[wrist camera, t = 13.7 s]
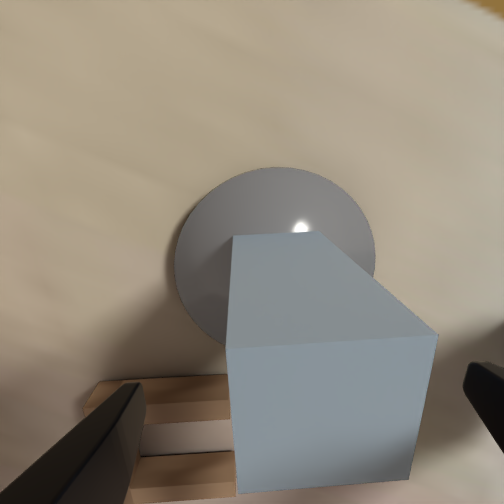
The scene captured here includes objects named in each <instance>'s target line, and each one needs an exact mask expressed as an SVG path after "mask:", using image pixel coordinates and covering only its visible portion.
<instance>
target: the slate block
mask: <svg viewBox="0 0 504 504" xmlns="http://www.w3.org/2000/svg"><path fill="white" fill-rule="evenodd" d="M437 340H438V334H437V333H436V332H435V331H434V330H432V329H431V328H430V327H429V326H428V325H427V324H426V323H424V322H423V321H422V320H421V319H420V318H419V317H418V316H416V315H415V314H414V313H413V312H412V311H411V310H409V309H408V308H407V307H406V306H405V305H404V304H403V303H401V302H400V301H399V300H398V299H397V298H396V297H394V296H393V295H392V294H391V293H390V292H389V291H388V290H386V289H385V288H384V287H383V286H382V285H381V284H380V283H378V282H377V281H376V280H375V279H374V278H373V277H371V276H370V275H369V274H368V273H367V272H366V271H365V270H363V269H362V268H361V267H360V266H359V265H358V264H356V263H355V262H354V261H353V260H352V259H351V258H350V257H348V256H347V255H346V254H345V253H344V252H343V251H342V250H340V249H339V248H338V247H337V246H336V245H335V244H333V243H332V242H331V241H330V240H329V239H328V238H327V237H325V236H324V235H323V234H322V233H321V232H320V231H310V232H292V233H273V234H254V235H235V236H233V246H232V261H231V276H230V291H229V306H228V320H227V335H226V360H227V371H228V382H229V394H230V405H231V416H232V428H233V439H234V450H235V462H236V473H237V484H238V494H243V493H255V492H267V491H279V490H291V489H303V488H315V487H327V486H339V485H351V484H363V483H374V482H386V481H398V480H409V475H410V471H411V466H412V461H413V456H414V451H415V447H416V442H417V437H418V432H419V427H420V422H421V418H422V413H423V408H424V403H425V398H426V393H427V389H428V384H429V379H430V374H431V369H432V364H433V360H434V355H435V350H436V345H437Z"/></svg>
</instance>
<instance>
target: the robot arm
mask: <svg viewBox="0 0 504 504" xmlns="http://www.w3.org/2000/svg"><path fill="white" fill-rule="evenodd" d="M463 390H464V393H465V395H466V397H467V398H468V400H469V401H470V403H471V404H472V406H473V407H474V409H475V410H476V412H477V413H478V415H479V417H480V418H481V420H482V421H483V423H484V424H485V426H486V427H487V429H488V430H489V432H490V434H491V435H492V437H493V438H494V440H495V441H496V443H497V444H498V446H499V447H500V449H501V450H502V452H503V453H504V368H502V367H499V366H497V365H495V364H493V363H490V362H487V361H476V362H471V363H470V364H469V365H468V367H467V371H466V374H465V378H464V382H463ZM145 416H146V401H145V396H144V391H143V386H142V384H141V383H140V382H127V383H124V384H123V385H121V386H120V387H119V388H118V389H117V390H116V391H115V392H113V393H112V394H111V395H110V396H109V397H108V398H107V399H106V400H104V401H103V402H102V403H101V404H100V405H99V406H98V407H97V408H95V409H94V410H93V411H92V412H91V413H90V414H89V415H87V416H86V417H85V418H84V419H83V420H82V421H81V422H80V423H78V424H77V425H76V426H75V427H74V428H73V429H72V430H71V431H69V432H68V433H67V434H66V435H65V436H64V437H63V438H62V439H60V440H59V441H58V442H57V443H56V444H55V445H54V446H52V447H51V448H50V449H49V450H48V451H47V452H46V453H45V454H43V455H42V456H41V457H40V458H39V459H38V460H37V461H36V462H34V463H33V464H32V465H31V466H30V467H29V468H28V469H26V470H25V471H24V472H23V473H22V474H21V475H20V476H19V477H17V478H16V479H15V480H14V481H13V482H12V483H11V484H10V485H8V486H7V487H6V488H5V489H4V490H3V491H2V492H0V504H123V503H124V500H125V497H126V494H127V491H128V488H129V484H130V481H131V477H132V473H133V469H134V464H135V460H136V456H137V451H138V447H139V443H140V438H141V434H142V429H143V425H144V421H145Z"/></svg>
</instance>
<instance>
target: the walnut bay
mask: <svg viewBox="0 0 504 504" xmlns="http://www.w3.org/2000/svg"><path fill="white" fill-rule="evenodd" d="M127 382H140V383H141V384H142V386H143V391H144V396H145V401H146V416H145V421H144V425H146V424H162V423H178V422H193V421H209V420H225V419H230V394H229V382H228V374H223V375H206V376H188V377H171V378H154V379H137V380H119V381H102V382H99V383H98V385H97V386H96V388H95V389H94V391H93V393H92V394H91V396H90V397H89V399H88V401H87V402H86V404H85V405H84V407H83V412H84V416H85V417H86V416H87V415H89V414H90V413H91V412H92V411H93V410H94V409H95V408H97V407H98V406H99V405H100V404H101V403H102V402H103V401H104V400H106V399H107V398H108V397H109V396H110V395H111V394H112V393H113V392H115V391H116V390H117V389H118V388H119V387H120V386H121V385H123V384H124V383H127ZM225 497H236V462H235V451H230V452H215V453H201V454H186V455H171V456H157V457H142V458H141V457H140V453H139V448H138V451H137V456H136V460H135V464H134V469H133V473H132V477H131V481H130V484H129V488H128V491H127V494H126V497H125V500H124V503H123V504H144V503H157V502H171V501H184V500H198V499H211V498H225Z"/></svg>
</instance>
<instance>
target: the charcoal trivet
mask: <svg viewBox="0 0 504 504" xmlns="http://www.w3.org/2000/svg"><path fill="white" fill-rule="evenodd" d="M310 231H320V232H321V233H322V234H323V235H324V236H325V237H327V238H328V239H329V240H330V241H331V242H332V243H333V244H335V245H336V246H337V247H338V248H339V249H340V250H342V251H343V252H344V253H345V254H346V255H347V256H348V257H350V258H351V259H352V260H353V261H354V262H355V263H356V264H358V265H359V266H360V267H361V268H362V269H363V270H365V271H366V272H367V273H368V274H369V275H370V276H371V277H373V275H374V270H375V244H374V240H373V235H372V231H371V229H370V226H369V224H368V221H367V219H366V217H365V215H364V214H363V212H362V210H361V208H360V207H359V206H358V205H357V203H356V202H355V201H354V200H353V198H352V197H351V196H349V195H348V194H347V193H346V192H345V191H344V190H343V189H342V188H340V187H339V186H337V185H336V184H335V183H333V182H332V181H330V180H328V179H326V178H324V177H322V176H320V175H317V174H314V173H311V172H308V171H305V170H299V169H294V168H283V167H271V168H261V169H257V170H252V171H248V172H245V173H242V174H240V175H237V176H235V177H232V178H231V179H229V180H227V181H225V182H223V183H222V184H220V185H219V186H217V187H216V188H215V189H213V190H212V191H211V192H209V193H208V194H207V195H206V196H205V197H204V198H203V199H202V200H201V201H200V202H199V203H198V205H197V206H196V207H195V209H194V210H193V211H192V213H191V214H190V215H189V217H188V219H187V221H186V222H185V224H184V226H183V228H182V231H181V233H180V236H179V238H178V242H177V246H176V251H175V260H174V272H175V281H176V286H177V290H178V293H179V296H180V298H181V301H182V303H183V305H184V307H185V309H186V311H187V312H188V314H189V315H190V316H191V318H192V319H193V321H194V322H195V323H196V324H197V325H198V326H199V327H200V328H201V329H202V330H203V331H204V332H205V333H207V334H208V335H209V336H210V337H212V338H213V339H215V340H216V341H218V342H219V343H221V344H223V345H225V346H226V335H227V320H228V306H229V291H230V276H231V261H232V246H233V236H235V235H254V234H273V233H292V232H310Z"/></svg>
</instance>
